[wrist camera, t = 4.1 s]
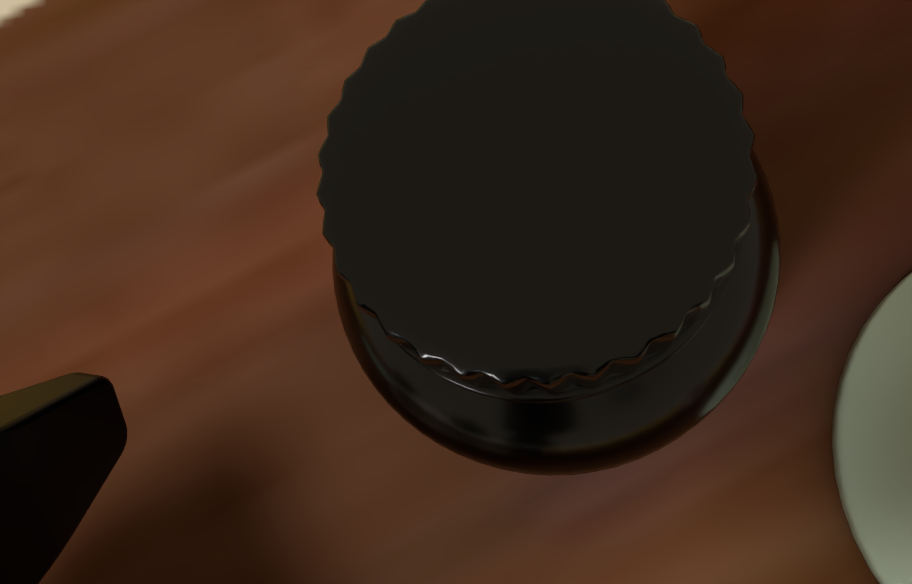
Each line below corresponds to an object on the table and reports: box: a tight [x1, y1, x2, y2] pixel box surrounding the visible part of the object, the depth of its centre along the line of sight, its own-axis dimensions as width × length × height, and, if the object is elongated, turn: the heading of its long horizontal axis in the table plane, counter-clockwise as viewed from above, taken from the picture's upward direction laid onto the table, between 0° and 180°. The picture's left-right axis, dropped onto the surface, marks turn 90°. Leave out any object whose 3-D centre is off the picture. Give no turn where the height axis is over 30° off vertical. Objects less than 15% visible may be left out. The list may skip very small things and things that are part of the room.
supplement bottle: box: [317, 0, 780, 475], centre depth 14 cm, size 7×7×12 cm
